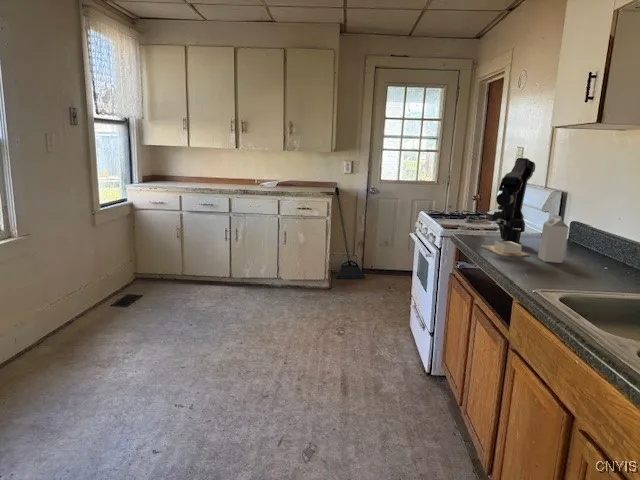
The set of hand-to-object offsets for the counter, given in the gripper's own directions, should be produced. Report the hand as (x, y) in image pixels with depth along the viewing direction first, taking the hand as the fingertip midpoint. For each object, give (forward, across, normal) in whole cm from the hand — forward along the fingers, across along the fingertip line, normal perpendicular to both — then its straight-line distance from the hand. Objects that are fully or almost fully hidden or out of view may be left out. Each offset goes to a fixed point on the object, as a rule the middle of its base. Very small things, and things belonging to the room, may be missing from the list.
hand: (502, 238), depth 194 cm
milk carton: (+5, +17, +12) cm, 22 cm away
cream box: (+3, +1, 0) cm, 3 cm away
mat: (+5, +3, 0) cm, 6 cm away
